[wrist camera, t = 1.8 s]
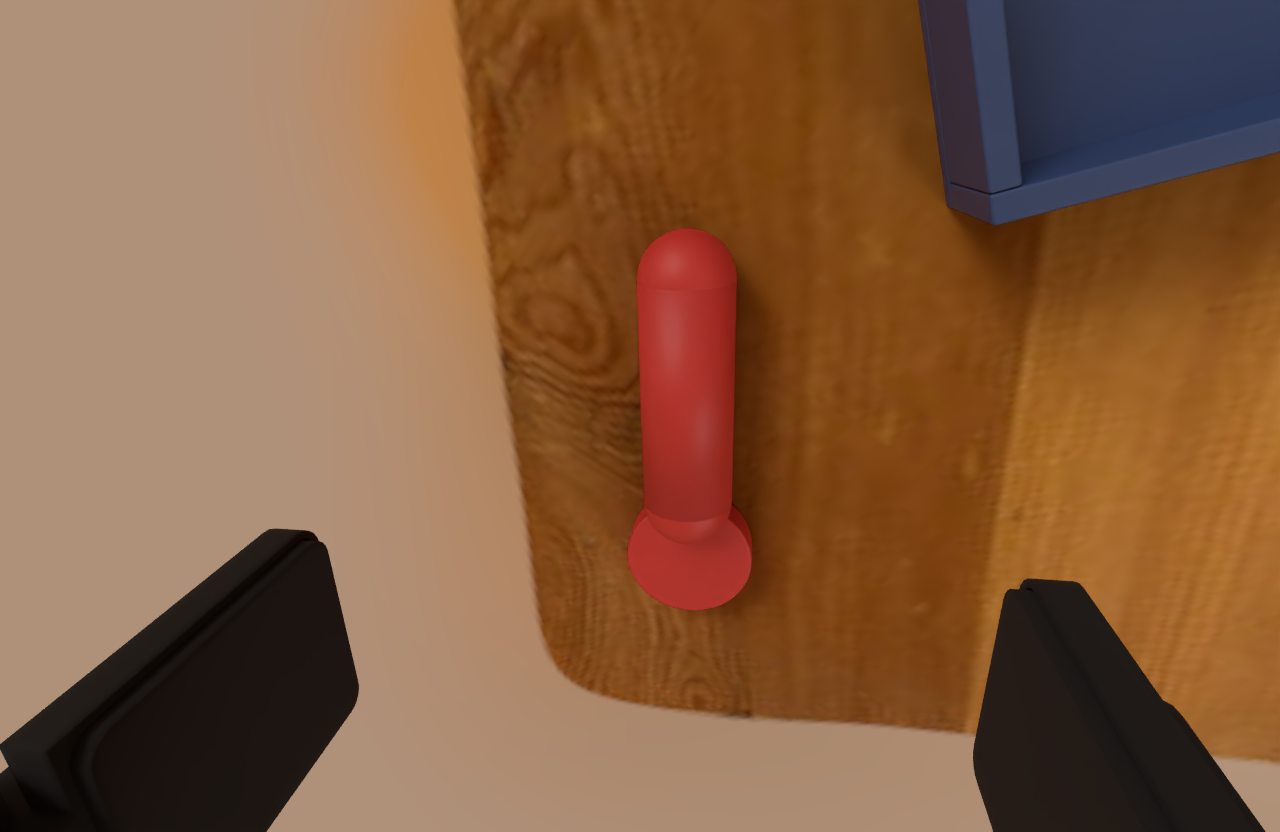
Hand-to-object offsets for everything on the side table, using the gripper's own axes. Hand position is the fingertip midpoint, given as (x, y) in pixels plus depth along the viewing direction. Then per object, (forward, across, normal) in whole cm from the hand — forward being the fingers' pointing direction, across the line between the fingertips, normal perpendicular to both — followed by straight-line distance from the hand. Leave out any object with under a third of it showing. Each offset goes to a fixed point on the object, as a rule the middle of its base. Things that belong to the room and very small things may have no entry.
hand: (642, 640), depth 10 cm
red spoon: (+10, 0, +2) cm, 10 cm away
